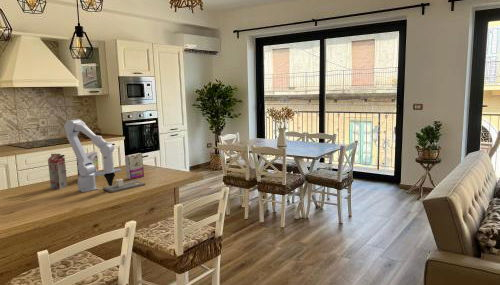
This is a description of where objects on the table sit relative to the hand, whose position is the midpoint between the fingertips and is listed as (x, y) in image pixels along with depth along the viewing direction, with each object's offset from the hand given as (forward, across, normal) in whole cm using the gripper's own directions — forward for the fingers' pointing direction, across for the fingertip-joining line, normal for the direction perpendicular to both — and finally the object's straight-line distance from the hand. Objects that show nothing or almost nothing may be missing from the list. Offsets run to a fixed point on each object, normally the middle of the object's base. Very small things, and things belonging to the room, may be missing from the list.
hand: (110, 185), depth 219 cm
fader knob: (+2, +6, 0) cm, 6 cm away
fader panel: (+3, +9, 0) cm, 9 cm away
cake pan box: (+3, +3, +41) cm, 41 cm away
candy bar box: (+3, +26, +18) cm, 32 cm away
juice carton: (+3, -19, +32) cm, 37 cm away
